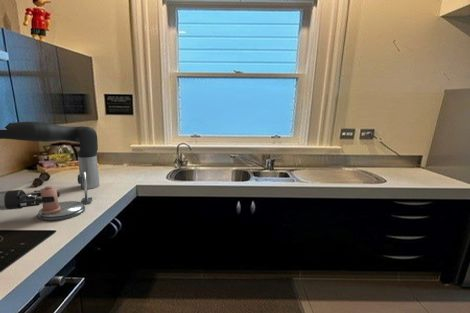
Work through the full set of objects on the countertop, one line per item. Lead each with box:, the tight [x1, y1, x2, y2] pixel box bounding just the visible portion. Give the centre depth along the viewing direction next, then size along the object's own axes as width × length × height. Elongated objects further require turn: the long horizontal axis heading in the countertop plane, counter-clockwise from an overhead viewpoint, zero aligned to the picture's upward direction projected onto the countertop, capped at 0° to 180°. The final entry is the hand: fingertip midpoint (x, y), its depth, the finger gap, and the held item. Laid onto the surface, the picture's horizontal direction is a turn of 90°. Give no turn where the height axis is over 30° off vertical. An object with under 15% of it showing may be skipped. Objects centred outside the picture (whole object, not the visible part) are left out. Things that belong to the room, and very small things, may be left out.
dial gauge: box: [77, 172, 94, 205], centre depth 129 cm, size 4×4×15 cm
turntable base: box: [37, 204, 86, 222], centre depth 118 cm, size 17×17×1 cm
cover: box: [40, 185, 61, 214], centre depth 113 cm, size 7×7×10 cm
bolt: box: [32, 171, 51, 188], centre depth 158 cm, size 6×5×15 cm
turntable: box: [38, 200, 85, 218], centre depth 118 cm, size 16×16×1 cm
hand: (56, 196), depth 114 cm, fingers closed on cover, 5 cm apart
